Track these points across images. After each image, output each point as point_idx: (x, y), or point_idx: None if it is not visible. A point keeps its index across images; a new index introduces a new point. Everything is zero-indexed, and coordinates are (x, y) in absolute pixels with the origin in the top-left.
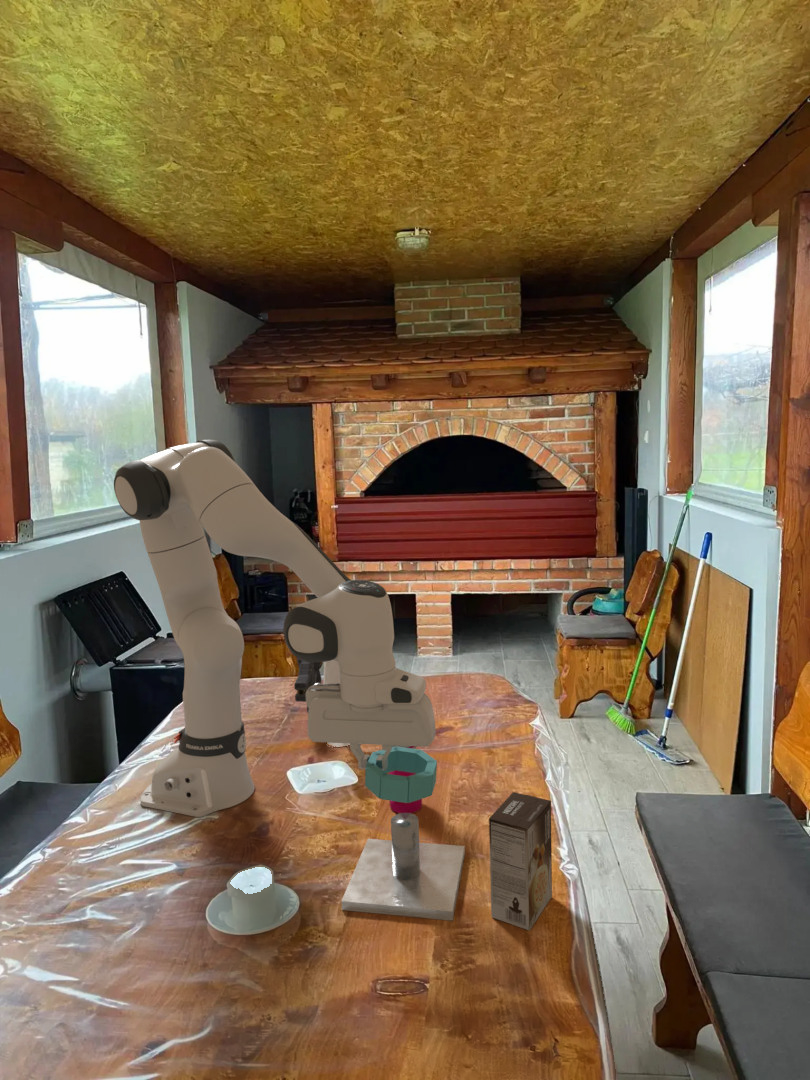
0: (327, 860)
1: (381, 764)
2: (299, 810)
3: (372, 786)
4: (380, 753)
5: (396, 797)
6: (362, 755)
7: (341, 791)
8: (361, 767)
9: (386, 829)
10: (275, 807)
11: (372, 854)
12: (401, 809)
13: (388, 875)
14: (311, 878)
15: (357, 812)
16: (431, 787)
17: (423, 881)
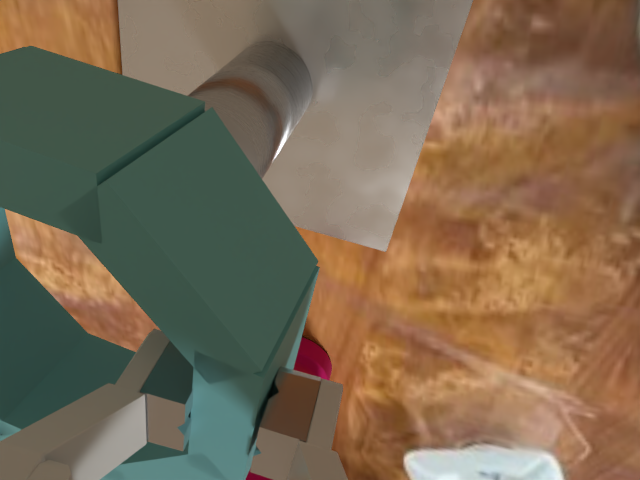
0: (510, 200)
1: (159, 365)
2: (561, 401)
3: (249, 208)
4: (188, 466)
5: (78, 74)
6: (294, 475)
7: (445, 435)
8: (319, 385)
9: (340, 293)
10: (625, 425)
11: (374, 182)
12: (301, 345)
13: (325, 73)
14: (575, 123)
15: (411, 364)
16: None
17: (217, 29)
